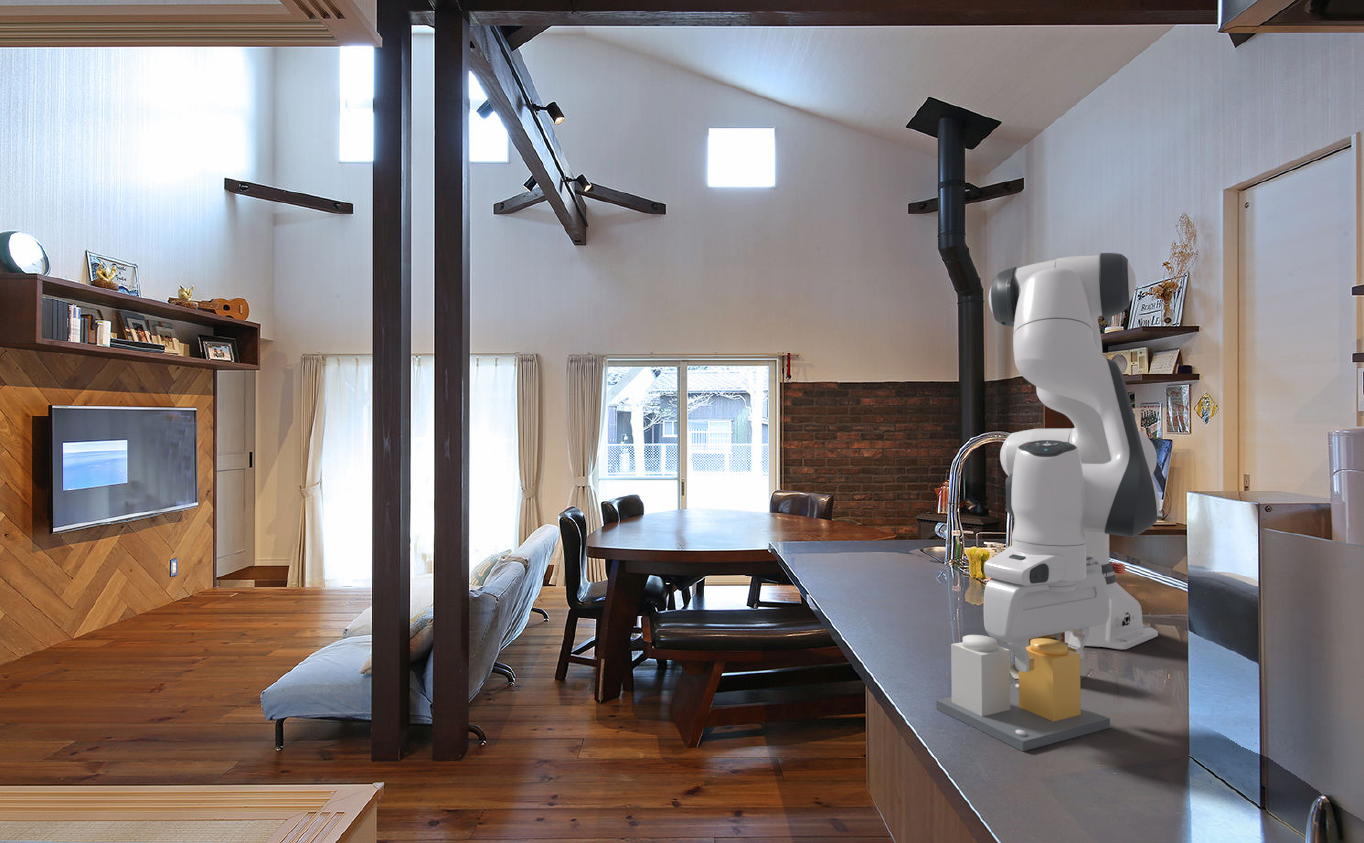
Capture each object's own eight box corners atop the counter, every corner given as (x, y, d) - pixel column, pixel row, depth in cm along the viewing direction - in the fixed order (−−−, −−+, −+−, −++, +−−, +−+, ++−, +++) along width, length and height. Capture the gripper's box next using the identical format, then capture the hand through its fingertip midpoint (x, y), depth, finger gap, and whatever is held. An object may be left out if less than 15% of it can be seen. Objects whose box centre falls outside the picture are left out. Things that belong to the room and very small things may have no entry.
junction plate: (1018, 690, 103) (1017, 622, 103) (1110, 727, 90) (1109, 649, 90) (936, 708, 96) (935, 635, 96) (1022, 751, 83) (1021, 666, 83)
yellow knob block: (1045, 700, 96) (1045, 635, 96) (1080, 714, 91) (1080, 646, 91) (1018, 706, 94) (1018, 640, 94) (1053, 721, 89) (1052, 651, 89)
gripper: (1078, 551, 100) (1079, 646, 100) (974, 564, 91) (975, 669, 91) (1121, 558, 94) (1123, 660, 94) (1014, 574, 86) (1016, 685, 86)
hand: (1049, 664), depth 93 cm, fingers open, 8 cm apart
